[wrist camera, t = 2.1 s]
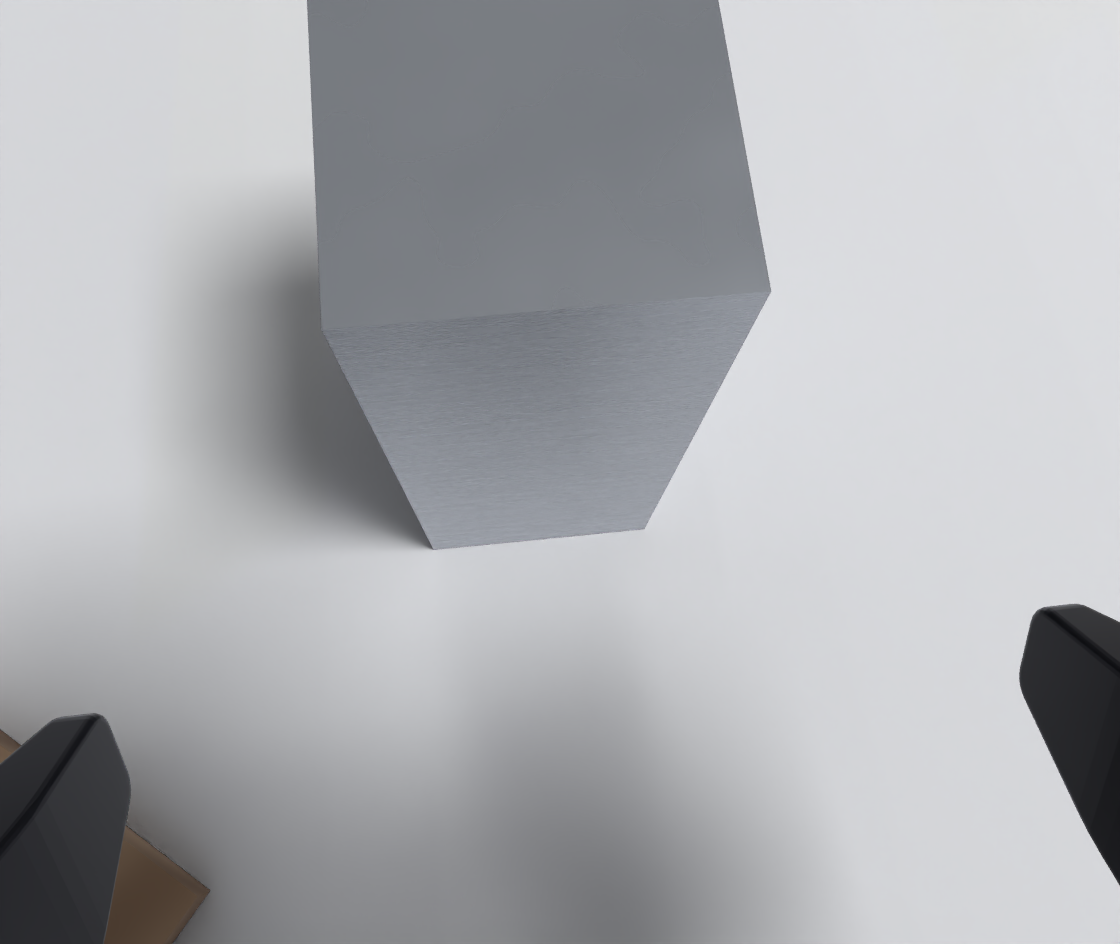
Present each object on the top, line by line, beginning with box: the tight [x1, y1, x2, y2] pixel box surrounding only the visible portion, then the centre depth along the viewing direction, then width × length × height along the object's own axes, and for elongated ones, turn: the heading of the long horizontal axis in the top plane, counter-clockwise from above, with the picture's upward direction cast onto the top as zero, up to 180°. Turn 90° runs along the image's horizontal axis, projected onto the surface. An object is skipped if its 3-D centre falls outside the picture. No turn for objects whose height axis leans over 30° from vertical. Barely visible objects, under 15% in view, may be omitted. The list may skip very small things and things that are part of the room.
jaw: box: [307, 0, 771, 550], centre depth 17 cm, size 5×6×12 cm
